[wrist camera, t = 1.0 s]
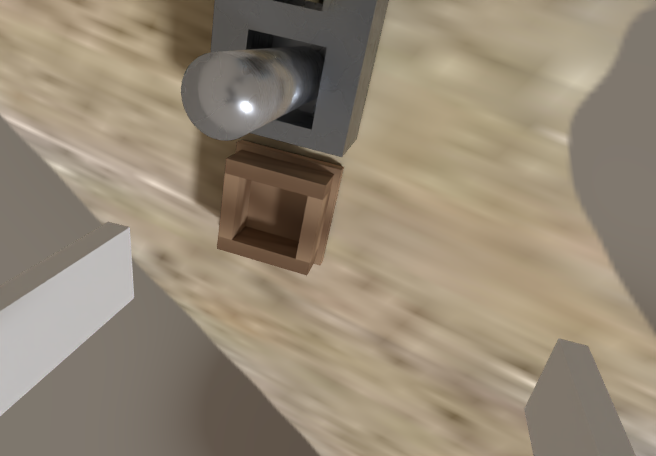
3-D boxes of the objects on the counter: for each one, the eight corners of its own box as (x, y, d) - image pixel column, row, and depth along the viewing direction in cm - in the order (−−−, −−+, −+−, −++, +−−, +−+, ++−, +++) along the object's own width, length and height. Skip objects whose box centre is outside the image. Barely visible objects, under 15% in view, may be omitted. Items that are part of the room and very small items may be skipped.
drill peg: (280, 40, 33) (183, 43, 20) (332, 52, 32) (266, 63, 20) (272, 95, 34) (178, 129, 22) (322, 107, 34) (254, 149, 21)
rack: (241, 139, 38) (220, 150, 34) (343, 166, 37) (333, 181, 33) (230, 233, 41) (210, 252, 38) (322, 260, 40) (311, 282, 37)
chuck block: (260, -78, 31) (222, -102, 26) (400, -50, 30) (391, -68, 24) (239, 108, 37) (205, 121, 31) (356, 138, 35) (342, 157, 30)
